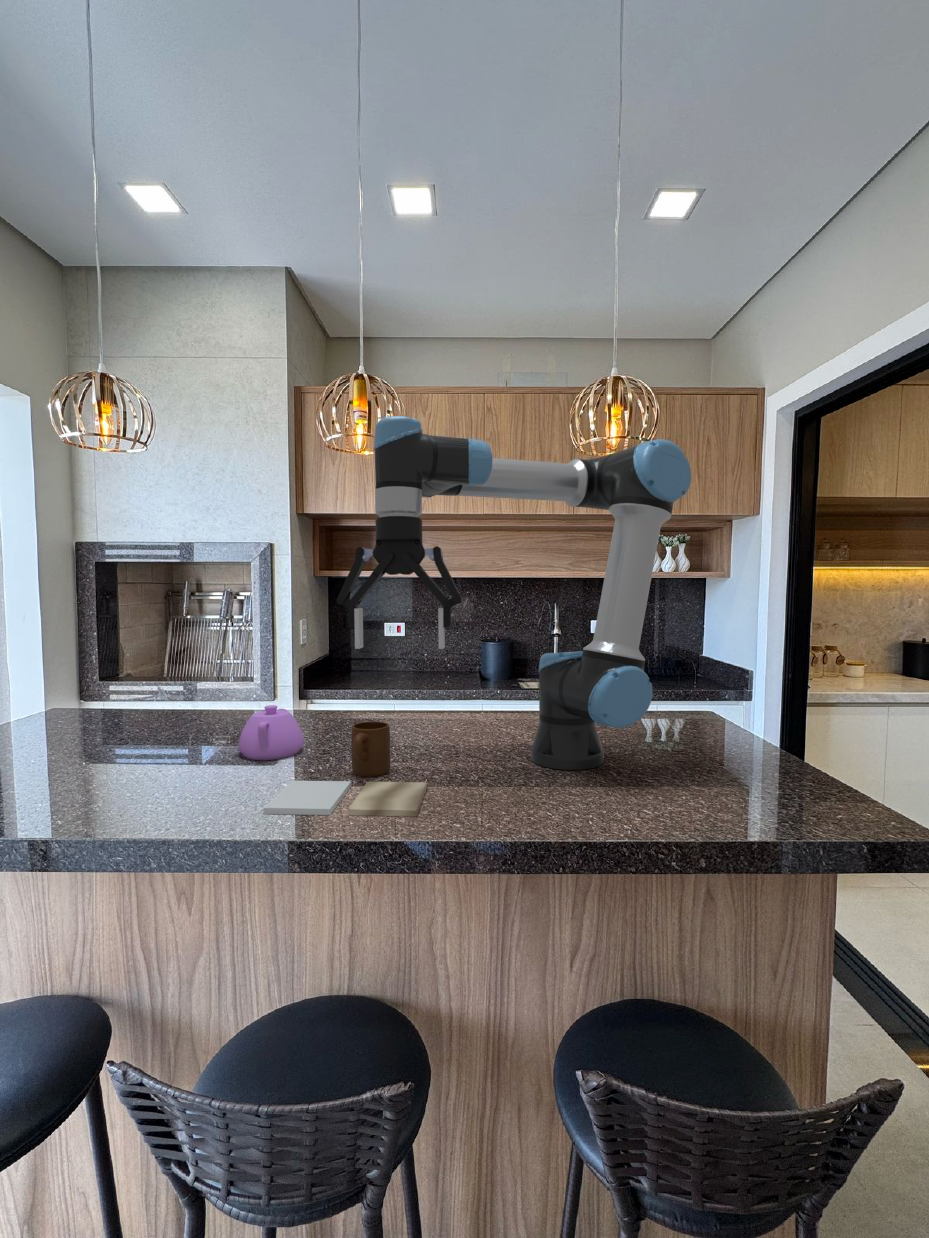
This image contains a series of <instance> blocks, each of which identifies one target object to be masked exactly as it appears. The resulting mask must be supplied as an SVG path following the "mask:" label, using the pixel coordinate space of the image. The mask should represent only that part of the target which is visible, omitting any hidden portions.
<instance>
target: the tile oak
mask: <svg viewBox="0 0 929 1238" xmlns="http://www.w3.org/2000/svg"><path fill="white" fill-rule="evenodd" d="M427 787H428V785H427V782H426V781H425V782H423V781H422V782H421V781H420V782H419V781H418V782H417V781H416V782H415V781H414V782H413V781H410V782H409V781H408V782H407V781H367V782H366V783H365V784H364V785H363V786H362V788H361V790H360V792H359V793H358V794H357V796H356V797H355V799H354V800H353V802H352V803H351V805H349V808H348V811H347V812H348V816H356V817H357V816H359V817H361V816H362V817H363V816H364V817H367V816H369V817H371V816H372V817H417V816H418V813H419V810H420V808H421V805H422V801H423V799H424V797H425V793H426V791H427Z"/></svg>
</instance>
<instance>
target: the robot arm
mask: <svg viewBox="0 0 929 1238" xmlns="http://www.w3.org/2000/svg"><path fill="white" fill-rule="evenodd" d="M423 431H424V430H423V429H422V423H421V421H420V420H419V419H417V418H411V416H410V417H409V416H402V415H392V416H391V415H390V416H386V417H382V418H381V419H379V420H378V421H377V423H376V424H375V427H374V447H373V453H374V475H375V477H374V481H375V484H374V485H375V487H374V488H375V490H374V496H375V497H374V499H375V500H374V502H375V504H374V505H375V506H374V513H375V514H376V515H377V516H378V517H377V518H376V519H375V546H374V548H365V547H361V546H357V547H356V549H355V555H354V561H353V563H352V566H351V567H350V570H349V573H348V574H347V577H346V578H345V581H344V583H343V585H342V587H341V589H340V591H339V593H338V596H337V598H336V600H335V601H336V603H337V604H339V605H342V606H344V607H346V608H347V610H348V611H347V614H348V616H347V617H348V626H349V628H351V629H354V650H357V649H358V650H360V649H362V648H364V616H363V615H364V612H363V611H364V608H362V607H359V605H360V604H361V603H362V602H363V601H364V599H365V598H366V597H367V595H368V594H369V593H370V592H371V591H372V589H373V588H375V585H376V584H377V583H378V582H379V581H380V580H381V578H383V576H385V574H387V575H390V576H396V575H400V574H401V575H405V576H407V575H408V576H409V575H412V574H413V573H414V574H415V575H416V576H417V578H418V579H420V581H421V582H422V583H423V585H425V586H426V588H427V589H428V590H429V591H430V593H431V594H433V596H434V597H435V599H436V600H437V601H438V602H439V603H440V604H441V605H442V607H438V611H437V615H438V619H437V621H438V632H437V633H438V636H437V637H438V650H443V649H445V647H446V638H445V637H446V636H445V635H446V633H445V631H446V629H447V628H451V626H452V608H453V607H454V606H455V605H456V606H457V605H459V604H461V603H462V602H463V598H462V597H463V596H462V595H461V594H460V592H459V589H458V587H457V585H456V584H455V582H454V579H453V577H452V575H451V574H450V571H449V570H448V568H447V565H446V564H445V561H444V557H443V551H442V548H441V547H440V546H438V545H437V546H434V547H431V548H430V547H429V548H425V547H424V544H423V520H422V519H421V518H420V516H421V515H422V514H423V498H432V497H435V496H445V497H446V496H449V497H451V496H452V497H453V496H454V497H455V496H456V497H474V498H475V497H479V498H496V499H497V498H498V499H499V498H500V499H515V500H530V501H531V500H532V501H533V500H535V501H552V502H553V501H554V502H564V503H565V504H566V505H567V506H568V507H573V508H574V507H575V508H585V509H596V510H602V511H603V510H604V511H605V510H606V511H609V512H610V514H611V515H612V517H613V518H614V525H613V531H612V535H611V541H610V546H609V552H608V557H607V563H606V568H605V574H604V578H603V584H602V589H601V595H600V601H599V605H598V611H597V616H596V622H595V628H594V633H593V638H592V641H591V642H590V643H589V644H587V645H586V646H584V647H583V648H582V650H580V651H564V652H561V651H560V652H546V653H544V654H542V655H541V656H540V658H539V664H538V677H539V678H538V682H539V683H538V685H539V687H538V690H539V692H538V693H539V694H538V697H539V700H538V701H539V702H538V703H539V710H538V712H539V717H538V718H539V719H538V720H539V721H538V722H539V723H538V727H537V730H536V732H535V735H534V739H533V741H532V745H531V747H530V748H531V749H530V760H531V762H533V763H534V764H536V765H538V766H542V767H545V768H550V769H554V770H564V771H565V770H567V771H580V770H588V769H594V768H597V767H600V766H602V765H603V763H604V753H605V752H604V749H603V746H602V741H601V739H600V736H599V733H598V730H597V726H596V724H598V725H600V726H603V727H610V728H614V729H623V728H624V729H625V728H628V727H630V726H632V725H633V726H634V724H635V723H636V722H637V721H640V720H641V719H642V718H643V717H644V716H645V714H646V713H647V711H648V709H649V707H650V705H651V703H652V699H653V684H652V682H651V681H650V677H649V675H648V674H647V673H646V672H645V671H644V668H645V664H646V663H645V662H646V659H645V657H644V656H643V654H642V652H641V651H640V644H641V638H642V634H643V633H642V632H643V627H644V621H645V616H646V610H647V606H648V605H647V604H648V600H649V594H650V587H651V582H652V577H653V571H654V565H655V561H656V554H657V550H658V549H657V548H658V544H659V538H660V532H661V529H662V525H663V524H665V523H666V522H667V521H669V520H670V519H671V518H672V515H673V514H672V513H673V507H674V503H675V502H677V501H678V500H680V499H681V498H682V497H684V495H686V494H687V493H688V491H689V488H690V487H691V482H692V468H691V465H690V462H689V459H688V458H687V457H686V455H685V452H684V451H683V449H681V447H680V446H679V445H677V443H675V442H672V441H671V440H668V439H662V438H659V439H658V438H657V439H653V440H647V441H643V442H640V443H639V444H637V445H634V446H631V447H628V448H625V449H622V450H618V451H617V452H612V453H610V454H607V455H602V456H598V457H595V458H588V459H581V458H579V459H578V458H574V459H572V460H570V461H569V462H568V463H565V462H563V463H562V462H552V461H551V462H550V461H540V460H539V461H538V460H537V461H536V460H525V459H523V460H522V459H514V458H512V459H511V458H510V459H509V458H497V457H493V452H492V449H491V446H490V445H489V443H487V442H486V441H484V440H479V439H473V438H471V437H468V438H466V437H465V438H464V437H463V438H462V437H453V436H451V437H450V436H442V435H429V434H426V433H423ZM426 556H427V557H428V559H429V560H431V561H432V562H434V564H435V566H436V568H437V570H438V572H439V574H440V576H441V578H442V580H443V582H444V583H445V586H446V588H447V590H448V591H449V594H450V595H451V598H448V597H447V595H446V593H444V592H443V590H442V589H441V588H440V587H439V586H438V585H437V584H436V582H435V581H434V580H433V579H432V578H431V577H430V576H429V574H428V573H427V572H426V570H425V569H424V568H423V567H422V566H421V563H422V562H423V560H424V559H425V557H426ZM371 557H373V558H374V559H375V561H376V562H377V565H376V567H375V568H374V569H373V570H372V572H371V574H370V575H369V576H368V577H367V579H365V581H364V582H363V584H361V585H360V587H359V588H358V590H357V591H356V592H355V593H354V595H353V596H351V595H352V592H353V591H354V589H355V586H356V584H357V582H358V580H359V579H360V578H359V577H360V576H361V574H362V571H363V569H364V567H365V565H366V562H369V561H370V560H371ZM350 597H351V598H350Z"/></svg>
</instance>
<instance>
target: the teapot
mask: <svg viewBox="0 0 929 1238" xmlns="http://www.w3.org/2000/svg"><path fill="white" fill-rule="evenodd" d="M263 707H264V710H261V711H257V712H254V713H252V715H250V717H249V718H248V720H247V721H246V723H245V725H244V726H243V729H242V730H241V733H240V736H239V739H238V750H239V752H240V753H241V754H242V755H243V756H244V757H245V758H247V759H249V760H254V761H272V760H274V761H275V760H280V759H281V760H282V759H285V758H290V757H293V756H295V755H297V754H298V753H299V751H300V750H301V749H302V748H303V746H304V744H305V741H304V735H303V734H304V733H303V731H302V729H301V727H300V724H299V723H298V721H297V720H296V718H295V716H293V714H291V712H290V711H288V710H287V709H286V708H278V705H275V704H273V705H272V704H271V705H270V704H269V705H265V706H263Z"/></svg>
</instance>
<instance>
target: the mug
mask: <svg viewBox="0 0 929 1238" xmlns="http://www.w3.org/2000/svg"><path fill="white" fill-rule="evenodd" d="M350 736H351V769H352V772H353V774H354V775H355V776H358V777H362V778H363V777H364V778H374V777H380V776H381V777H382V776H384V775H386V774H388V773H389V772H390V770H391V732H390V724H389V723H388V722H385V721H384V722H383V721H360V722H358V723H355V724H353V725H351V735H350Z"/></svg>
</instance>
